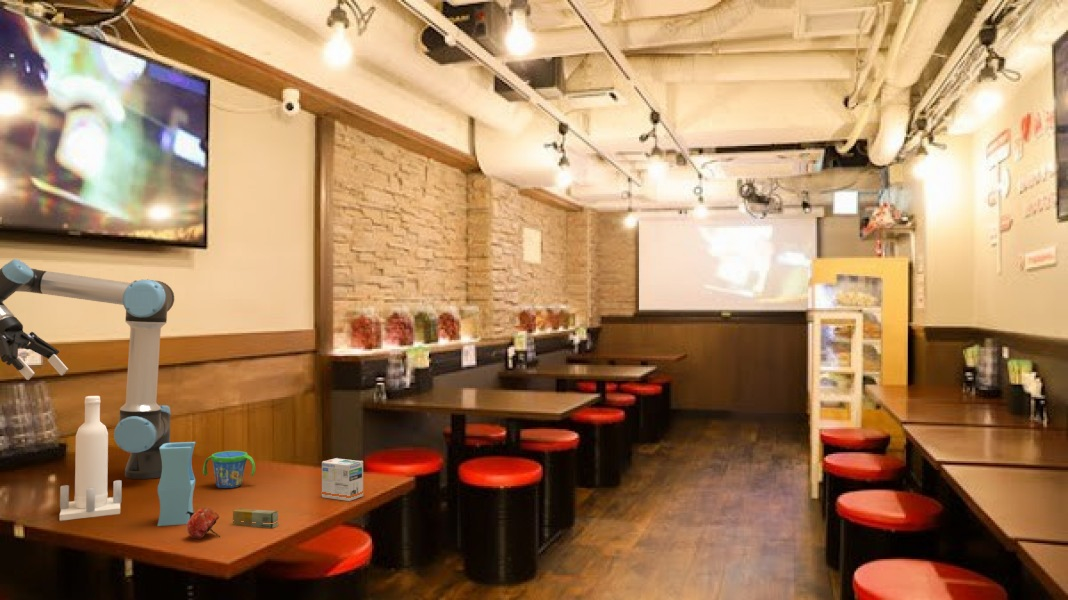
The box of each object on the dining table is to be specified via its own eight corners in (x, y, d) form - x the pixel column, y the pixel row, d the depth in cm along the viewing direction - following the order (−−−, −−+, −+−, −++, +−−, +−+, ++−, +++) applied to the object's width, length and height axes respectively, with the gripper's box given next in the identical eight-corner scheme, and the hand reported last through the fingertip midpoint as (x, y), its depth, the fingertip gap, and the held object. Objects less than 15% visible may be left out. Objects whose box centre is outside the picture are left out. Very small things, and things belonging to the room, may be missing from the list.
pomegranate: (220, 540, 189) (190, 516, 189) (235, 519, 187) (205, 494, 188) (203, 553, 181) (171, 527, 182) (218, 531, 180) (187, 505, 181)
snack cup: (260, 482, 240) (260, 451, 240) (245, 491, 229) (246, 457, 229) (213, 481, 241) (213, 450, 241) (196, 489, 230) (196, 456, 230)
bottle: (67, 507, 204) (68, 397, 205) (93, 500, 212) (94, 394, 212) (88, 510, 202) (90, 398, 202) (114, 503, 209) (115, 395, 209)
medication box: (278, 526, 195) (279, 510, 195) (272, 529, 192) (273, 513, 192) (238, 522, 197) (238, 507, 198) (231, 525, 195) (232, 510, 195)
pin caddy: (121, 501, 216) (121, 475, 216) (121, 513, 204) (121, 486, 204) (61, 507, 209) (61, 480, 209) (58, 521, 197) (58, 492, 197)
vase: (190, 523, 195) (191, 447, 195) (157, 526, 193) (158, 448, 193) (194, 515, 203) (195, 441, 203) (163, 517, 201) (163, 443, 201)
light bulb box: (363, 496, 224) (364, 460, 224) (349, 501, 218) (349, 464, 218) (335, 492, 229) (335, 457, 229) (320, 497, 223) (320, 461, 223)
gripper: (26, 331, 239) (69, 378, 238) (-41, 334, 214) (6, 387, 213) (42, 314, 239) (85, 362, 237) (-24, 315, 214) (24, 369, 212)
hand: (48, 374), depth 225 cm, fingers open, 13 cm apart
